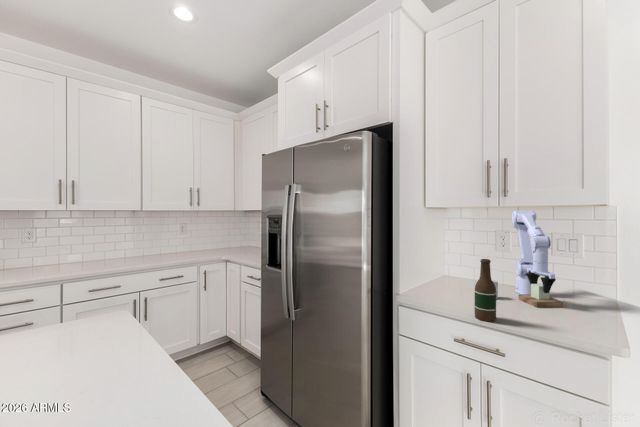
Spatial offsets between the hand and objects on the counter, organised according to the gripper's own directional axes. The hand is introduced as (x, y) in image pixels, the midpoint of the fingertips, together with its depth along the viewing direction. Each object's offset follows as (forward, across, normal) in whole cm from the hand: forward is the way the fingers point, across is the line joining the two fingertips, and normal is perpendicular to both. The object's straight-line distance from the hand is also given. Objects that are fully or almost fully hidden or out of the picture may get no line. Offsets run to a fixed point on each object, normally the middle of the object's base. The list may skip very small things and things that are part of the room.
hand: (540, 290), depth 140 cm
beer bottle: (+6, +18, -37) cm, 42 cm away
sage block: (+3, 0, 0) cm, 3 cm away
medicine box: (+6, -10, -19) cm, 22 cm away
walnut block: (+6, 0, 0) cm, 6 cm away
